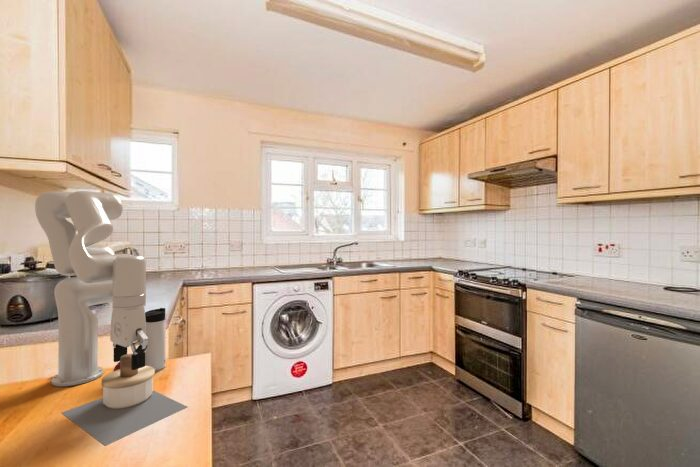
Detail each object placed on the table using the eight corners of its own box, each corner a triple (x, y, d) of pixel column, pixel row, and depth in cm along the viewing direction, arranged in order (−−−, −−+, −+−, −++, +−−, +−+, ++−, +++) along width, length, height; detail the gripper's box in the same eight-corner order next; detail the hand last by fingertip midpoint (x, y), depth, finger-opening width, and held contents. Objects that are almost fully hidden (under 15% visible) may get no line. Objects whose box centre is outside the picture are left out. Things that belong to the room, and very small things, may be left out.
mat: (61, 415, 83) (61, 412, 83) (140, 386, 99) (140, 384, 99) (105, 448, 70) (105, 445, 70) (187, 409, 86) (187, 406, 86)
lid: (93, 381, 88) (93, 358, 88) (141, 365, 99) (141, 345, 99) (114, 392, 82) (114, 368, 82) (163, 375, 92) (163, 353, 92)
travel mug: (170, 367, 112) (170, 308, 112) (153, 375, 106) (153, 313, 106) (156, 365, 114) (156, 307, 114) (138, 372, 108) (139, 311, 108)
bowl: (96, 401, 89) (96, 380, 89) (140, 385, 98) (140, 366, 98) (115, 413, 83) (116, 391, 83) (160, 395, 92) (160, 375, 92)
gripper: (98, 300, 92) (98, 362, 92) (130, 307, 83) (130, 376, 83) (128, 295, 98) (128, 353, 98) (160, 302, 89) (160, 366, 89)
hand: (129, 364), depth 90 cm, fingers open, 9 cm apart
